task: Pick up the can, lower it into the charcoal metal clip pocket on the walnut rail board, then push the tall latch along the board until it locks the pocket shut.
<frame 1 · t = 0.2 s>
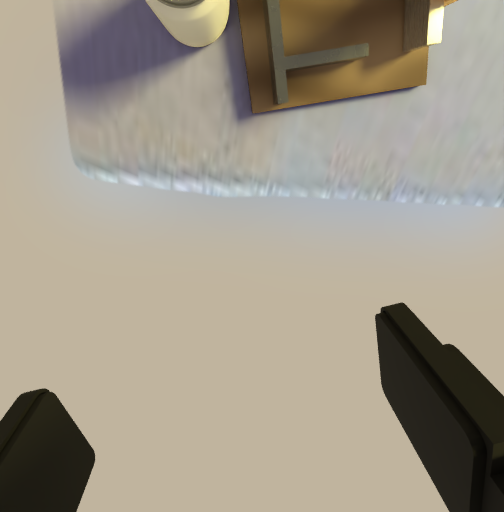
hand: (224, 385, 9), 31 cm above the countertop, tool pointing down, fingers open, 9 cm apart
rail board: (322, 9, 31), on the countertop
can holder: (313, 3, 29), on the rail board, point 3 cm above the countertop
can: (194, 8, 31), on the countertop
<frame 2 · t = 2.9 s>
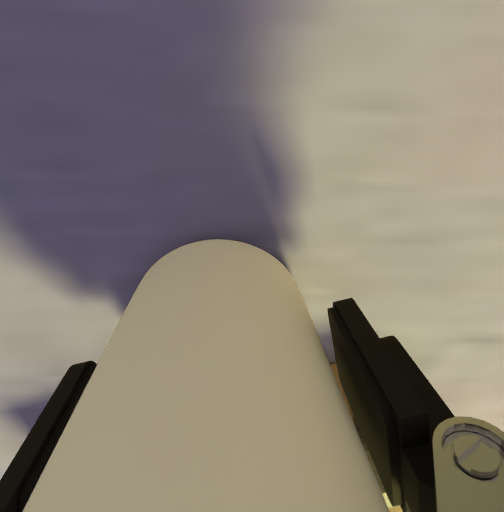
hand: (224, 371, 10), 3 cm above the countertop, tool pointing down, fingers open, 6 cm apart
can: (219, 308, 13), on the countertop, touching gripper
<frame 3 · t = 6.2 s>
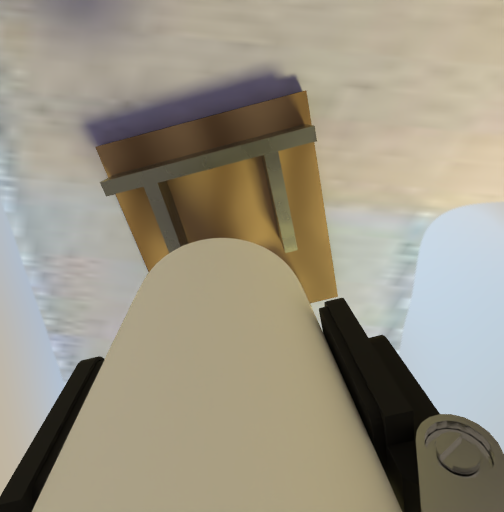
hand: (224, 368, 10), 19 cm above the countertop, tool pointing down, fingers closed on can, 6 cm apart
latch: (261, 369, 23), point 10 cm above the countertop, slide at 0.0 cm
rail board: (228, 215, 28), on the countertop
can holder: (223, 208, 25), on the rail board, point 3 cm above the countertop
can: (222, 306, 13), point 16 cm above the countertop, touching gripper
when the fingers open (6 cm above the countertop, at t = 9.2 s): can drops 1 cm, resting on rail board.
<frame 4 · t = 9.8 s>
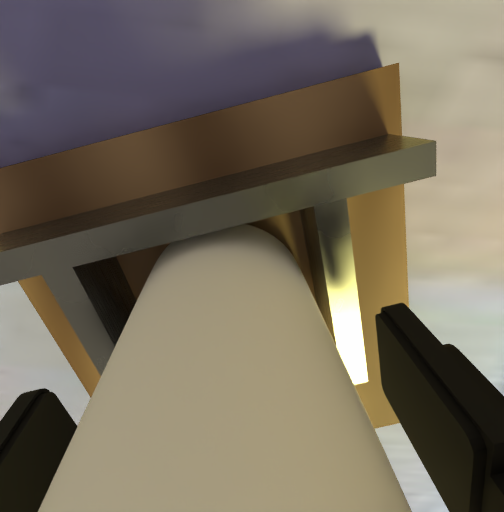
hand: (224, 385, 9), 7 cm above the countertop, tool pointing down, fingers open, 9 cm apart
rail board: (231, 296, 16), on the countertop
can holder: (221, 300, 13), on the rail board, point 3 cm above the countertop
can: (227, 287, 14), point 1 cm above the countertop, touching rail board
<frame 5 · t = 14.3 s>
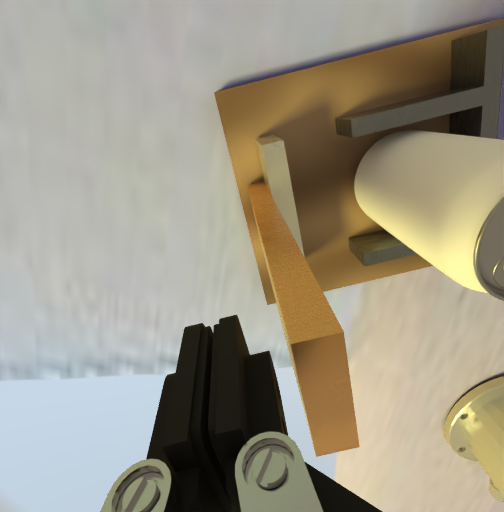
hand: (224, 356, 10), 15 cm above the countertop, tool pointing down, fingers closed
latch: (291, 256, 15), point 10 cm above the countertop, slide at 0.3 cm, touching gripper
rail board: (374, 176, 24), on the countertop
can holder: (413, 179, 22), on the rail board, point 3 cm above the countertop
can: (395, 177, 23), point 1 cm above the countertop, touching rail board
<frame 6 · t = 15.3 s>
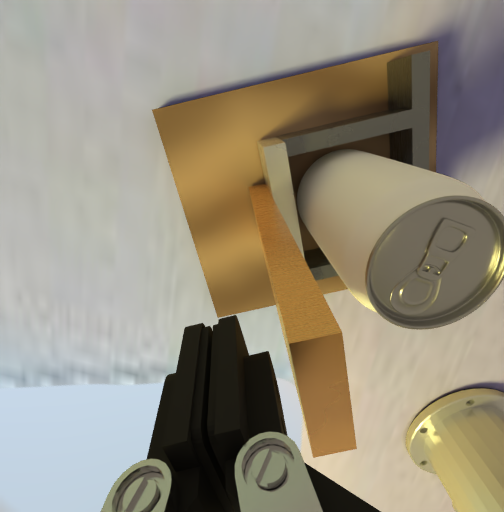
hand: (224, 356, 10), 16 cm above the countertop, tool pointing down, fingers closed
latch: (291, 258, 16), point 10 cm above the countertop, slide at 4.5 cm, touching can holder, gripper
rail board: (320, 193, 24), on the countertop
can holder: (352, 197, 22), on the rail board, point 3 cm above the countertop
can: (339, 194, 23), point 1 cm above the countertop, touching rail board
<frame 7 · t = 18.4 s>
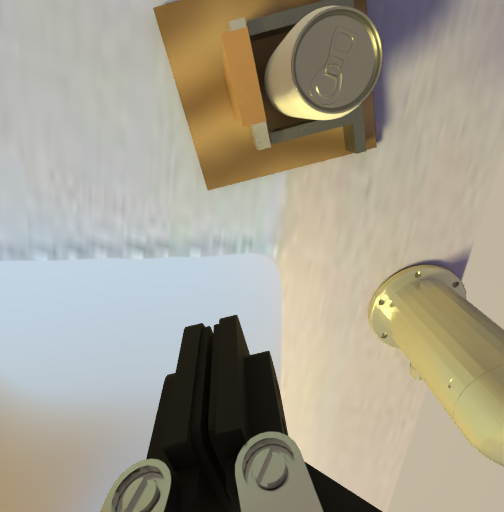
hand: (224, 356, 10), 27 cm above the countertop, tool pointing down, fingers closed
latch: (247, 87, 23), point 10 cm above the countertop, slide at 4.2 cm
rail board: (284, 82, 31), on the countertop
can holder: (305, 75, 29), on the rail board, point 3 cm above the countertop
can: (297, 80, 31), point 1 cm above the countertop, touching rail board
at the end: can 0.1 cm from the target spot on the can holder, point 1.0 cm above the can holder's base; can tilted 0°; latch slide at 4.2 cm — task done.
